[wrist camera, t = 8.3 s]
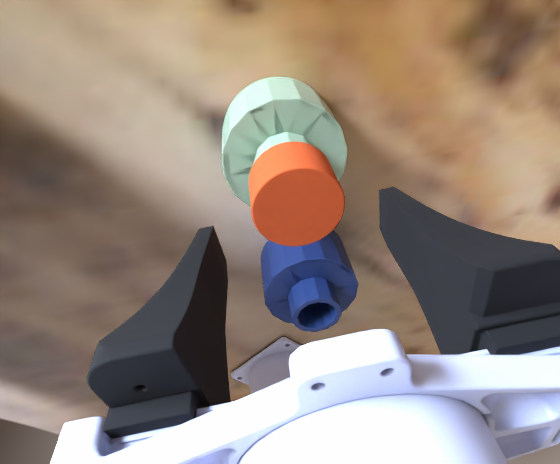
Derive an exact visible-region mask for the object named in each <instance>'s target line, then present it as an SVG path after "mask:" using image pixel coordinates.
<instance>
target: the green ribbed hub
mask: <svg viewBox="0 0 560 464" xmlns="http://www.w3.org/2000/svg"><path fill="white" fill-rule="evenodd" d="M292 141H293V142H304V143H307V144H310V145H312V146H314V147H316V148H317V149H319V150H320V151H321V152H322V153H323V154H324V155H325V156H326V157H327V159H328V161H329V163H330V165H331V167H332V169H333V171H334V173H335V175H336V177H337V179H338V181H339V180H340V178H341V177H342V175H343V173H344V171H345V166H346V159H347V151H348V147H347V144H346V140H345V137H344V134H343V131H342V127H341V125H340V124H339V122H338V121H337V119H336V118H335V116H334V115H333V113H332V112H331V110H330V109H329V107H328V106H327V104H326V103H325V102H324V101H323V100H322V98H321V97H320V96H319V95H318V93H317V92H316V91H315V90H314V89H312V88H311V87H310V86H308V85H307V84H305V83H303V82H301V81H299V80H296V79H293V78H288V77H269V78H265V79H261V80H259V81H256V82H254V83H252V84H250V85H249V86H247V87H246V88H245V89H243V90H242V91H241V92H240V93H239V94H238V95H237V96H236V97H235V99H234V100H233V101H232V103H231V105H230V106H229V108H228V111H227V113H226V116H225V120H224V124H223V128H222V162H223V173H224V177H225V179H226V181H227V182H228V184H229V186H230V188H231V189H232V191H233V193H234V194H235V196H237V197H238V198H239V199H241V200H242V201H243V202H245V203H246V204H247V205H249V206H250V207H251V203H250V192H249V175H250V171H251V168H252V166H253V164H254V163H255V161H256V160H257V158H258V157H259V156H260V155H261V154H262V153H263V152H265V151H266V150H267V149H269V148H271V147H273V146H275V145H277V144H280V143H284V142H292Z"/></svg>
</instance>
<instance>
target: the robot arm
mask: <svg viewBox="0 0 560 464" xmlns="http://www.w3.org/2000/svg"><path fill="white" fill-rule="evenodd" d="M379 209H380V230H381V232H382V235H383V237H384V239H385V242H386V244H387V246H388V248H389V250H390V252H391V253H392V255H393V257H394V258H395V260H396V262H397V263H398V265H399V267H400V268H401V270H402V272H403V273H404V275H405V277H406V278H407V280H408V282H409V283H410V285H411V287H412V289H413V290H414V292H415V294H416V297H417V299H418V301H419V303H420V305H421V308H422V310H423V312H424V314H425V317H426V319H427V321H428V324H429V326H430V328H431V331H432V333H433V336H434V338H435V341H436V343H437V346H438V348H439V351H440V353H441V355H406V353H405V350H404V348H403V346H402V344H401V341H400V339H399V337H398V335H397V333H395V332H392V331H390V330H387V329H371V330H366V331H361V332H357V333H352V334H347V335H342V336H338V337H333V338H328V339H323V340H319V341H314V342H310V343H308V344H305V345H302V346H301V345H299V344H297V343H295V342H294V341H292V340H290V339H288V338H286V337H282V338H280V339H279V340H277V341H276V342H274V343H273V344H272V345H270V346H269V347H267V348H266V349H264V350H263V351H262V352H260V353H259V354H257V355H256V356H255V357H253V358H252V359H250V360H249V361H247V362H246V363H245V364H243V365H242V366H240V367H239V368H238V369H236V370H235V371H233V372H232V373H231V377H232V378H233V379H235V380H238V381H240V382H242V383H245V384H247V385H249V386H250V395H248V396H246V397H243V398H241V399H239V400H236V401H233V402H231V401H230V391H229V380H228V367H227V353H226V335H225V324H226V307H227V289H228V276H227V264H226V259H225V256H224V253H223V251H222V248H221V245H220V243H219V240H218V237H217V235H216V232H215V229H214V227H213V226H211V227H206V228H201V229H199V230H198V232H197V234H196V235H195V237H194V239H193V241H192V243H191V244H190V246H189V248H188V250H187V251H186V253H185V255H184V256H183V258H182V259H181V261H180V263H179V264H178V266H177V267H176V269H175V270H174V271H173V273H172V274H171V276H170V277H169V279H168V280H167V281H166V282H165V284H164V285H163V286H162V287H161V288H160V289H159V291H158V292H157V293H156V294H155V295H154V296H153V297H152V298H151V299H150V300H149V301H148V302H147V303H146V304H145V305H144V306H143V307H142V308H141V309H140V310H139V311H138V312H136V313H135V314H134V315H133V316H132V317H131V318H129V319H128V320H127V321H126V322H125V323H123V324H122V325H121V326H120V327H118V328H117V329H115V330H114V331H113V332H111V333H110V334H108V335H107V336H106V337H104V338H103V339H101V340H100V341H99V343H98V345H97V348H96V350H95V353H94V356H93V359H92V362H91V365H90V368H89V371H88V374H87V383H88V385H89V386H90V388H91V389H92V390H93V391H94V392H95V393H96V394H97V395H98V396H99V398H100V399H101V400H102V401H103V402H104V403H105V404H106V405H107V406H108V407H109V410H108V414H107V417H106V418H105V417H101V416H95V417H89V418H85V419H80V420H75V421H70V422H67V423H65V424H64V425H63V428H62V431H61V434H60V437H59V440H58V442H57V445H56V448H55V451H54V454H53V457H52V460H51V463H50V464H509V463H508V462H507V460H511V459H514V458H517V457H520V456H523V455H526V454H529V453H532V452H536V451H539V450H542V449H545V448H548V447H551V446H554V445H557V444H560V251H559V250H558V249H557V248H556V247H555V246H553V245H552V244H545V243H539V242H532V241H525V240H520V239H515V238H511V237H506V236H502V235H498V234H494V233H491V232H487V231H484V230H481V229H477V228H474V227H471V226H469V225H466V224H464V223H461V222H458V221H456V220H454V219H451V218H449V217H447V216H445V215H443V214H441V213H439V212H437V211H435V210H433V209H431V208H429V207H427V206H425V205H424V204H422V203H420V202H418V201H417V200H415V199H413V198H412V197H410V196H408V195H407V194H405V193H403V192H402V191H400V190H398V189H396V188H395V187H390V188H386V189H381V190H379Z"/></svg>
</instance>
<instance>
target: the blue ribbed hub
mask: <svg viewBox="0 0 560 464" xmlns="http://www.w3.org/2000/svg"><path fill="white" fill-rule="evenodd" d="M261 269H262V279H263V288H264V297H265V304H266V306H267V307H268V309H269V310H270V312H271V313H272V315H274V316H275V317H277V318H279V319H280V320H282V321H284V322H287V323H293V324H294V325H295V326H296V327H298V328H299V329H301V330H303V331H310V332H317V331H321V330H325V329H328V328H329V327H331V326H332V325H334V324H335V323H337V322H338V320H339V318H340V316H341V315H342V312H343V311H344V310H346V309H347V308H348V307H349V305H350V304H351V303H352V301H353V300H354V299H355V297H356V293H357V288H358V282H357V279H356V276H355V274H354V271H353V269H352V266H351V264H350V261H349V259H348V256H347V254H346V251H345V249H344V246H343V244H342V241H341V239H340V238H339V236H338V235H337V234H336V233H335V232H334V231H332V232H330V233H329V234H328V235H327V236H325V237H324V238H322V239H320V240H319V241H316V242H314V243H311V244H308V245H303V246H284V245H280V244H277V243H274V242H272V241H270V240H268V242H267V243H266V244H265V246H264V248H263V251H262V254H261Z"/></svg>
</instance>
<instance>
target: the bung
mask: <svg viewBox="0 0 560 464" xmlns="http://www.w3.org/2000/svg"><path fill="white" fill-rule="evenodd" d="M249 192H250V203H251V213H252V219H253V222H254V224H255V226H256V228H257V229H258V231H259V232H260V233H261V234H262V235H263V236H264V237H265V238H267V239H268V240H270V241H272V242H274V243H277V244H280V245H284V246H303V245H308V244H311V243H314V242H316V241H319V240H320V239H322V238H324V237H325V236H327V235H328V234H329V233H330V232H332V231H333V230H334V228H335V227H336V226H337V225H338V223H339V222H340V220H341V218H342V215H343V213H344V208H345V196H344V192H343V189H342V187H341V185H340V183H339V181H338V179H337V177H336V175H335V173H334V171H333V169H332V167H331V165H330V163H329V161H328V159H327V157H326V156H325V155H324V154H323V153H322V152H321V151H320V150H319V149H317V148H316V147H314V146H312V145H310V144H307V143H304V142H293V141H292V142H284V143H280V144H277V145H275V146H273V147H271V148H269V149H267V150H266V151H265V152H263V153H262V154H261V155H260V156H259V157H258V158H257V160H256V161H255V163H254V164H253V166H252V168H251V171H250V175H249Z"/></svg>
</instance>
